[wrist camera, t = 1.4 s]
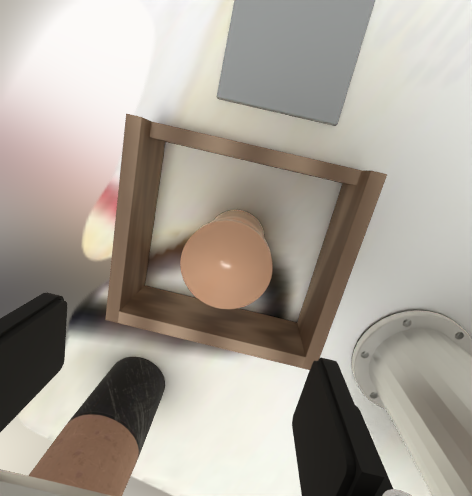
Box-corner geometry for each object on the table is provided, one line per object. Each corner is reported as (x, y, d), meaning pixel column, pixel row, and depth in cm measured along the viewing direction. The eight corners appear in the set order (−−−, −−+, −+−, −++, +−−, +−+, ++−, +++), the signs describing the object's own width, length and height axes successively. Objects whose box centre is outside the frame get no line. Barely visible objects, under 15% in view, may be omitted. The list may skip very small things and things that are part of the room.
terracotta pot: (276, 214, 28) (283, 234, 20) (259, 275, 30) (259, 318, 21) (210, 198, 28) (189, 212, 20) (198, 260, 30) (173, 297, 22)
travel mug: (112, 347, 34) (-77, 576, 15) (172, 364, 34) (60, 615, 15) (105, 396, 36) (-68, 650, 17) (161, 411, 36) (51, 684, 17)
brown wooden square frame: (359, 173, 26) (387, 174, 21) (304, 334, 31) (314, 371, 26) (155, 125, 27) (126, 113, 21) (133, 292, 32) (105, 319, 26)
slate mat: (378, -20, 22) (382, -26, 22) (335, 125, 25) (337, 124, 25) (245, -49, 23) (244, -57, 22) (218, 98, 26) (216, 96, 25)
